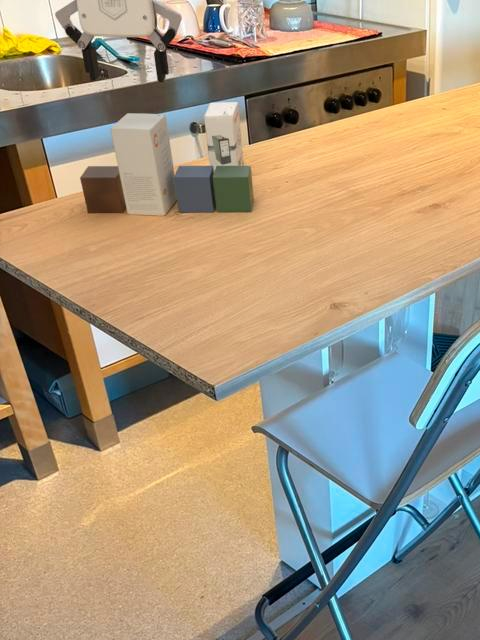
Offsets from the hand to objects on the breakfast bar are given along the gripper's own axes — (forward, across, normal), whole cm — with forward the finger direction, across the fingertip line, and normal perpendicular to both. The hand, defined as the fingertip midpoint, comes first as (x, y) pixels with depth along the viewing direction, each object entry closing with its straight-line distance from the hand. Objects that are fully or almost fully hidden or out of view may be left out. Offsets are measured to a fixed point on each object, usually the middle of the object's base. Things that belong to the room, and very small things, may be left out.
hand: (128, 79), depth 119 cm
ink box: (+19, +12, +12) cm, 25 cm away
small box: (+19, +1, 0) cm, 19 cm away
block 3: (+18, +14, 0) cm, 23 cm away
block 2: (+18, +8, 0) cm, 20 cm away
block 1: (+19, -6, 0) cm, 20 cm away
